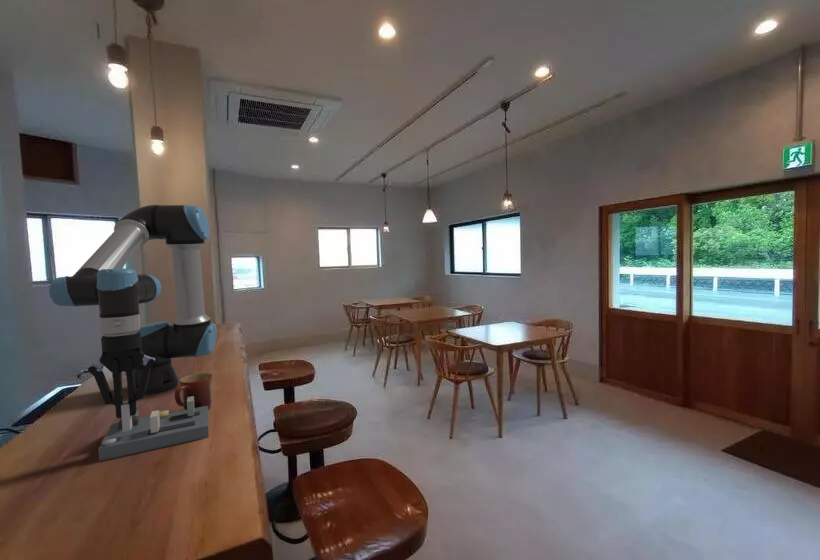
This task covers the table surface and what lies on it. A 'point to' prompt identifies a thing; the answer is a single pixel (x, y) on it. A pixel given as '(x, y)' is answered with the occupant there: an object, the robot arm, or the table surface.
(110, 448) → the console
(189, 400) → the grey block
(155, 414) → the pale grey cuboid
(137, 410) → the block
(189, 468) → the table surface
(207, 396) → the mug
